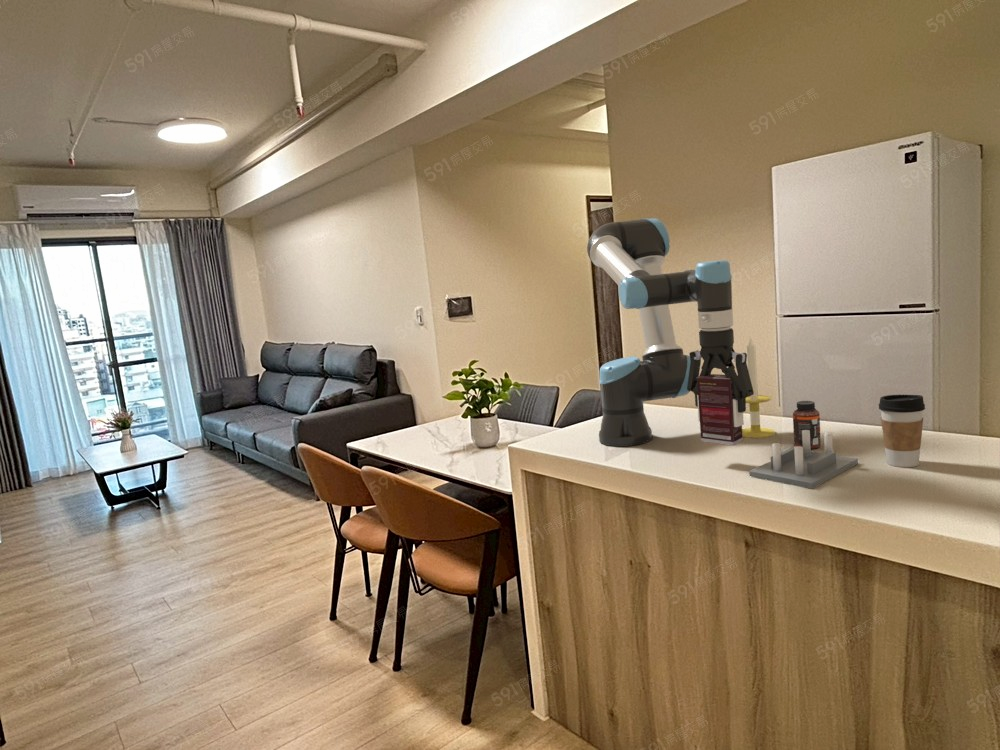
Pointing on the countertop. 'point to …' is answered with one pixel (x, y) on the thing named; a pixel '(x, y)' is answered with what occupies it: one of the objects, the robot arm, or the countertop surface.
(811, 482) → the grey pegged stand
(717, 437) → the supplement box
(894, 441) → the coffee cup
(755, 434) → the candle
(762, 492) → the countertop surface
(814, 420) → the supplement bottle
